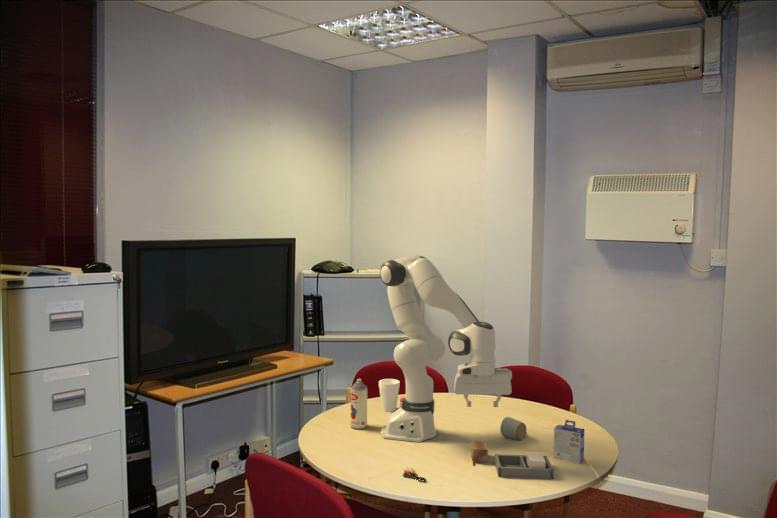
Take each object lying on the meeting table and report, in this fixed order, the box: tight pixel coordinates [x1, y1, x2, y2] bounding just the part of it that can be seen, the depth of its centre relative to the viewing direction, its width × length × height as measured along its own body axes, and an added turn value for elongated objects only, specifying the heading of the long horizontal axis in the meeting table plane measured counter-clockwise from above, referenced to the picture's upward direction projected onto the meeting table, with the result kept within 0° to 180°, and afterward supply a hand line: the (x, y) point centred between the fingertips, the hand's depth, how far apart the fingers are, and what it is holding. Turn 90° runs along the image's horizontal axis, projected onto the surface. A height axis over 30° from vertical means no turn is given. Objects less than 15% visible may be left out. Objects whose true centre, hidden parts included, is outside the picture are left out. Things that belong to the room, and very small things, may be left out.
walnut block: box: [471, 440, 489, 467], centre depth 216 cm, size 5×8×6 cm, turn 176°
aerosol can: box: [350, 378, 368, 431], centre depth 250 cm, size 7×7×20 cm
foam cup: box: [378, 378, 401, 413], centre depth 274 cm, size 10×9×13 cm
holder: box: [493, 453, 555, 480], centre depth 206 cm, size 18×12×4 cm, turn 86°
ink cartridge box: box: [552, 419, 585, 465], centre depth 216 cm, size 10×6×14 cm, turn 58°
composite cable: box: [402, 466, 427, 483], centre depth 201 cm, size 10×5×2 cm, turn 33°
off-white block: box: [525, 451, 546, 468], centre depth 206 cm, size 5×8×5 cm, turn 176°
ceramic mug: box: [499, 416, 528, 441], centre depth 241 cm, size 11×8×8 cm
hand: (482, 406), depth 215 cm, fingers open, 8 cm apart
